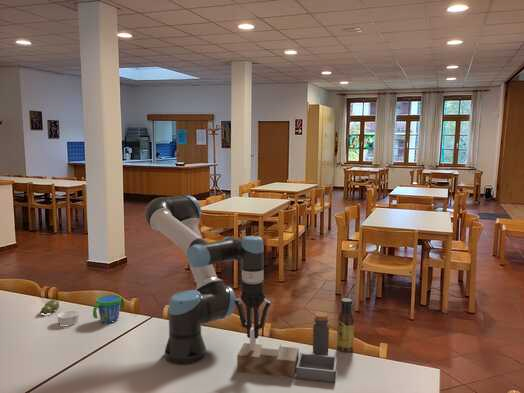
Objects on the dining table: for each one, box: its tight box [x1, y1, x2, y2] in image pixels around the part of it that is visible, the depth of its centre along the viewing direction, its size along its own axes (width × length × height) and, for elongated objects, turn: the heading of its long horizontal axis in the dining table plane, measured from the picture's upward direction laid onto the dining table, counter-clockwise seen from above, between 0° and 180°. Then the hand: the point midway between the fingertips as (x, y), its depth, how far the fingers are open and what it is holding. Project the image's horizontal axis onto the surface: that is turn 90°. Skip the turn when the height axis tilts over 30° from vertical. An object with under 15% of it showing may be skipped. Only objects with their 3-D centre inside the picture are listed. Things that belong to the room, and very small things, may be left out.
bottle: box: [312, 311, 330, 356], centre depth 173 cm, size 6×6×15 cm
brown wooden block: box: [236, 342, 300, 379], centre depth 161 cm, size 20×10×6 cm, turn 78°
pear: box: [39, 299, 60, 314], centre depth 213 cm, size 6×5×10 cm
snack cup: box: [92, 294, 126, 323], centre depth 203 cm, size 16×10×10 cm
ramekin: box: [56, 309, 80, 325], centre depth 200 cm, size 9×9×4 cm
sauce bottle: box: [336, 297, 355, 353], centre depth 176 cm, size 6×6×20 cm
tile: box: [261, 340, 282, 356], centre depth 160 cm, size 6×6×2 cm
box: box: [295, 352, 338, 384], centre depth 158 cm, size 13×11×4 cm
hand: (252, 346), depth 162 cm, fingers closed
